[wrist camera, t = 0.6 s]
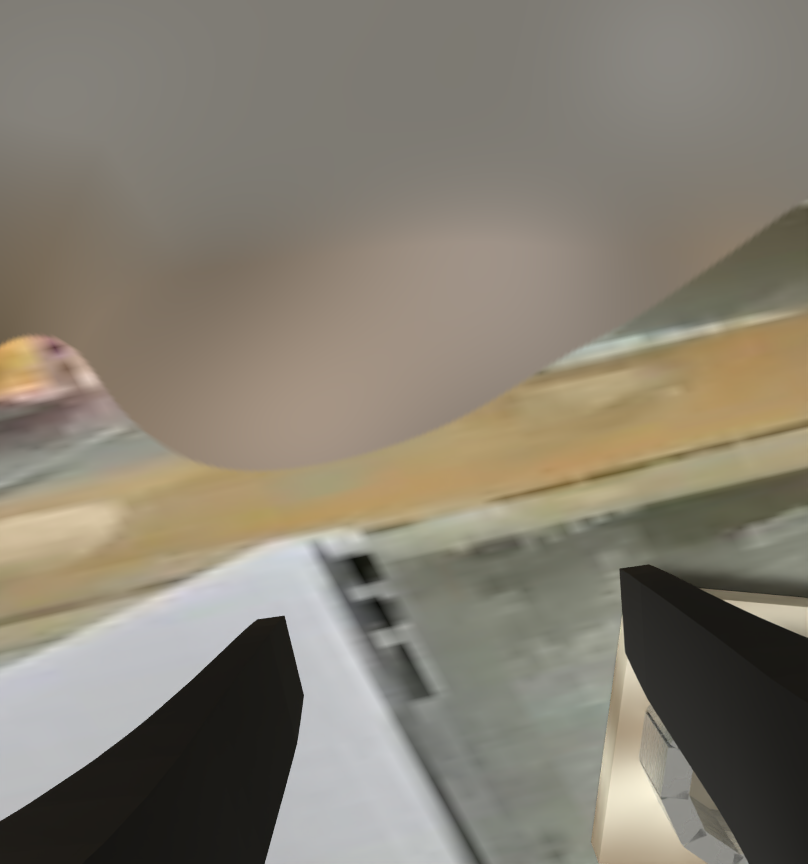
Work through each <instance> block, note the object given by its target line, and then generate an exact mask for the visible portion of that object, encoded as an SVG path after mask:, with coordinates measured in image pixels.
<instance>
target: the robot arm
mask: <svg viewBox="0 0 808 864" xmlns="http://www.w3.org/2000/svg"><path fill="white" fill-rule="evenodd" d="M620 584H621V600H622V615H623V630H624V646H625V654H626V656H627V658H628V660H629V662H630V664H631V667H632V669H633V671H634V673H635V675H636V677H637V679H638V681H639V683H640V685H641V687H642V689H643V691H644V693H645V695H646V697H647V699H648V701H649V702H650V704H651V706H652V707H653V709H654V710H655V712H656V714H657V715H658V717H659V718H660V720H661V721H662V723H663V725H664V726H665V728H666V729H667V731H668V732H669V734H670V736H671V737H672V739H673V740H674V742H675V743H676V745H677V746H678V748H679V749H680V751H681V753H682V754H683V756H684V757H685V759H686V760H687V762H688V763H689V765H690V766H691V768H692V770H693V771H694V773H695V774H696V776H697V777H698V779H699V780H700V782H701V783H702V785H703V787H704V788H705V790H706V791H707V793H708V794H709V796H710V797H711V799H712V801H713V802H714V804H715V805H716V807H717V808H718V810H719V812H720V813H721V815H722V817H723V818H724V820H725V822H726V823H727V825H728V827H729V828H730V830H731V832H732V833H733V835H734V837H735V839H736V841H737V843H738V844H739V846H740V848H741V850H742V852H743V854H744V856H745V858H746V860H747V861H748V863H749V864H808V638H807V637H805V636H802V635H800V634H797V633H795V632H793V631H790V630H788V629H786V628H783V627H781V626H779V625H776V624H774V623H772V622H769V621H767V620H765V619H762V618H760V617H758V616H756V615H754V614H751V613H749V612H747V611H745V610H743V609H741V608H738V607H736V606H734V605H732V604H730V603H728V602H726V601H724V600H722V599H720V598H718V597H716V596H714V595H712V594H710V593H707V592H705V591H703V590H701V589H699V588H697V587H695V586H693V585H691V584H689V583H687V582H685V581H683V580H681V579H679V578H677V577H675V576H673V575H671V574H669V573H667V572H665V571H663V570H661V569H658V568H656V567H654V566H651V565H642V566H635V567H628V568H621V569H620ZM303 698H304V694H303V690H302V686H301V682H300V678H299V674H298V670H297V665H296V661H295V657H294V653H293V649H292V645H291V641H290V637H289V632H288V628H287V624H286V620H285V616H279V617H272V618H265V619H257V620H256V621H255V622H253V623H252V624H251V625H250V626H249V627H248V628H246V629H245V630H244V631H243V632H242V633H241V634H240V635H239V636H238V637H237V638H236V639H235V640H234V641H233V642H231V643H230V644H229V645H228V646H227V647H226V648H225V649H224V650H223V651H222V652H221V653H220V654H219V655H218V656H217V657H216V658H215V659H214V660H213V661H212V662H210V663H209V664H208V665H207V666H206V667H205V668H204V669H203V670H202V671H201V672H200V673H199V674H198V675H197V676H196V677H195V678H194V679H192V680H191V681H190V682H189V683H188V684H187V685H186V686H185V687H183V688H182V689H181V690H180V691H179V692H178V693H177V694H175V695H174V696H173V697H172V698H171V699H170V700H169V701H167V702H166V703H165V704H164V705H163V706H162V707H161V708H159V709H158V710H157V711H156V712H155V713H154V714H153V715H151V716H150V717H149V718H148V719H147V720H145V721H144V722H143V723H142V724H141V725H139V726H138V727H137V728H136V729H134V730H133V731H132V732H131V733H129V734H128V735H127V736H125V737H124V738H123V739H122V740H120V741H119V742H118V743H116V744H115V745H114V746H112V747H111V748H110V749H108V750H107V751H106V752H104V753H103V754H102V755H100V756H99V757H98V758H96V759H95V760H93V761H92V762H91V763H89V764H88V765H86V766H85V767H83V768H82V769H80V770H79V771H77V772H76V773H74V774H73V775H71V776H70V777H68V778H67V779H65V780H64V781H62V782H61V783H59V784H58V785H56V786H55V787H53V788H52V789H50V790H49V791H47V792H46V793H44V794H43V795H41V796H40V797H38V798H37V799H35V800H34V801H32V802H31V803H29V804H28V805H26V806H25V807H23V808H21V809H20V810H18V811H16V812H15V813H13V814H11V815H10V816H8V817H6V818H5V819H3V820H2V821H0V864H265V860H266V857H267V853H268V849H269V846H270V842H271V838H272V835H273V831H274V827H275V824H276V820H277V816H278V813H279V809H280V805H281V802H282V798H283V794H284V791H285V787H286V784H287V780H288V776H289V772H290V768H291V765H292V761H293V757H294V753H295V749H296V745H297V740H298V734H299V727H300V721H301V713H302V706H303Z"/></svg>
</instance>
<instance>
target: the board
mask: <svg viewBox="0 0 808 864" xmlns="http://www.w3.org/2000/svg"><path fill="white" fill-rule="evenodd" d="M699 589H701V590H703V591H705V592H707V593H710V594H712V595H714V596H716V597H718V598H720V599H722V600H724V601H726V602H728V603H730V604H732V605H734V606H736V607H738V608H741V609H743V610H745V611H747V612H749V613H751V614H754V615H756V616H758V617H760V618H762V619H765V620H767V621H769V622H772V623H774V624H776V625H779V626H781V627H783V628H786V629H788V630H790V631H793V632H795V633H797V634H800V635H802V636H805V637H807V638H808V598H803V597H792V596H781V595H770V594H759V593H748V592H737V591H726V590H715V589H704V588H699ZM649 705H650V702H649V701H648V699H647V697H646V695H645V693H644V691H643V689H642V687H641V685H640V683H639V681H638V679H637V677H636V675H635V673H634V671H633V669H632V667H631V664H630V662H629V660H628V658H627V656H626V654H625V646H624V630H623V615H622V620H621V627H620V634H619V642H618V649H617V656H616V664H615V671H614V678H613V686H612V693H611V700H610V708H609V715H608V722H607V730H606V737H605V744H604V752H603V759H602V766H601V774H600V781H599V788H598V796H597V803H596V810H595V818H594V825H593V832H592V840H591V843H592V845H593V848H594V851H595V854H596V857H597V859H598V862H599V863H602V864H708V863H706V862H705V861H703V860H702V859H700V858H699V857H698V856H696V855H695V854H693V853H692V852H690V851H689V850H687V849H686V848H684V846H683V845H682V844H681V842H680V841H679V839H678V837H677V835H676V833H675V831H674V830H673V828H672V826H671V824H670V822H669V820H668V819H667V817H666V815H665V813H664V811H663V809H662V808H661V806H660V804H659V802H658V800H657V798H656V796H655V794H654V791H653V789H652V787H651V785H650V783H649V781H648V778H647V776H646V774H645V772H644V770H643V768H642V765H641V763H640V761H639V760H640V759H639V751H640V744H641V737H642V730H643V723H644V716H645V712H648V710H647V708H648V706H649ZM689 795H690V796H691V797H693V798H694V799H696V800H697V801H699V802H700V803H702V804H703V805H705V806H706V807H708V808H709V809H713V810H718V808H717V807H716V805H715V804H714V802H713V801H712V799H711V797H710V796H709V794H708V793H707V791H706V790H705V788H704V787H703V785H702V783H701V782H700V780H699V779H698V777H697V776H696V774H695V773H694V771H693V773H692V779H691V785H690V791H689Z"/></svg>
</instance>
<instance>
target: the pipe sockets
mask: <svg viewBox="0 0 808 864" xmlns="http://www.w3.org/2000/svg"><path fill="white" fill-rule="evenodd" d="M647 710H648V712H645V716H644V723H643V730H642V737H641V744H640V751H639V759H640V760H639V761H640V763H641V765H642V768H643V770H644V772H645V774H646V776H647V778H648V781H649V783H650V785H651V787H652V789H653V791H654V794H655V796H656V798H657V800H658V802H659V804H660V806H661V808H662V809H663V811H664V813H665V815H666V817H667V819H668V820H669V822H670V824H671V826H672V828H673V830H674V831H675V833H676V835H677V837H678V839H679V841H680V842H681V844H682V845H683V846H684V848H686V849H687V850H689V851H690V852H692V853H693V854H695V855H696V856H698V857H699V858H700V859H702V860H703V861H705V862H706V863H708V864H749V863H748V861H747V860H746V858H745V856H744V854H743V852H742V850H741V848H740V846H739V844H738V843H737V841H736V839H735V837H734V835H733V833H732V832H731V830H730V828H729V827H728V825H727V823H726V822H725V820H724V818H723V817H722V815H721V813H720V812H719V810H713V809H709V808H708V807H706V806H705V805H703V804H702V803H700V802H699V801H697V800H696V799H694V798H693V797H691V796H690V795H689V791H690V785H691V779H692V773H693V770H692V768H691V766H690V765H689V763H688V762H687V760H686V759H685V757H684V756H683V754H682V753H681V751H680V749H679V748H678V746H677V745H676V743H675V742H674V740H673V739H672V737H671V736H670V734H669V732H668V731H667V729H666V728H665V726H664V725H663V723H662V721H661V720H660V718H659V717H658V715H657V714H656V712H655V710H654V709H653V707H652V706H651V704H650V705H649V706H648V708H647Z"/></svg>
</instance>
